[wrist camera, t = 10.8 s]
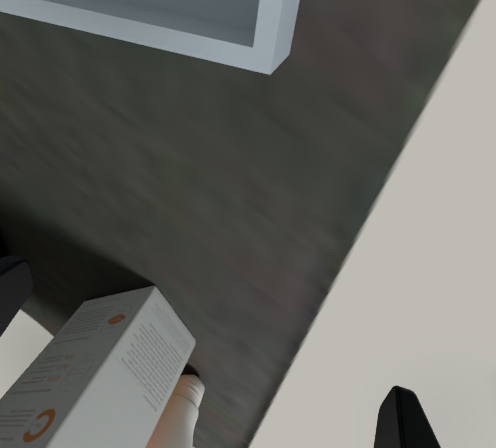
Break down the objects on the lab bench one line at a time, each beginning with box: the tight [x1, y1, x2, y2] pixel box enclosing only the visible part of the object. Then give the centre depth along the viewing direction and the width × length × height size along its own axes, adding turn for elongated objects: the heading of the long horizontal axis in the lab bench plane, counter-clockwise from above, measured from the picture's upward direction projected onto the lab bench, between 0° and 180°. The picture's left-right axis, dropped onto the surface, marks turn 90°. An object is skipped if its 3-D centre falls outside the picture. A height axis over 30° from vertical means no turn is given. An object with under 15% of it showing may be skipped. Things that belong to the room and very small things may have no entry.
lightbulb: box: [145, 374, 205, 448], centre depth 30 cm, size 6×6×11 cm
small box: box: [0, 286, 196, 448], centre depth 27 cm, size 8×6×13 cm
